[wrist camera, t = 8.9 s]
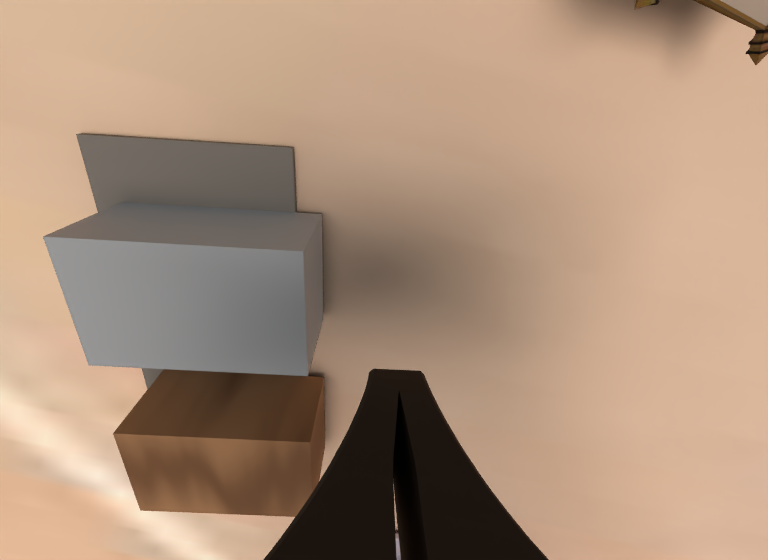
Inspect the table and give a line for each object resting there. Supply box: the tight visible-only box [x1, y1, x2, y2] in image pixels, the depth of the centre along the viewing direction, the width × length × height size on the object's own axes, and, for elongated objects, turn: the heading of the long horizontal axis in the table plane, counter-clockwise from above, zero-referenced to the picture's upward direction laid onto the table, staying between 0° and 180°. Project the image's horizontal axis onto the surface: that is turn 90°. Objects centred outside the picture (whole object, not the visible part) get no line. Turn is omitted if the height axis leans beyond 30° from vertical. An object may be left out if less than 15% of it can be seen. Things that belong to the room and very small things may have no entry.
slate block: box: [43, 202, 323, 376], centre depth 15 cm, size 5×4×8 cm
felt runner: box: [76, 133, 297, 389], centre depth 19 cm, size 18×8×1 cm, turn 177°
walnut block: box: [113, 369, 325, 517], centre depth 19 cm, size 5×4×8 cm
